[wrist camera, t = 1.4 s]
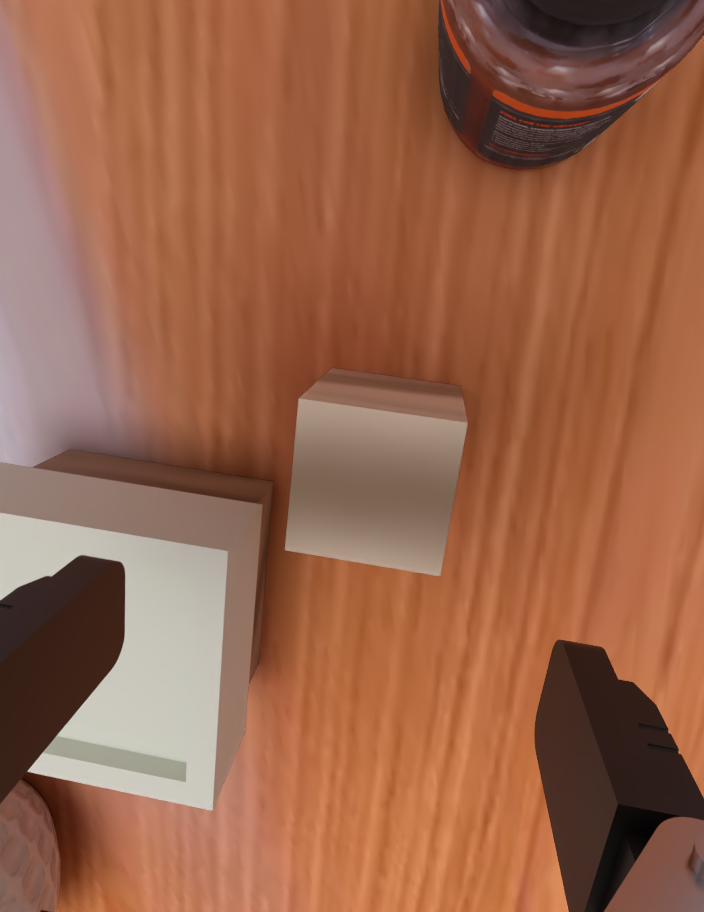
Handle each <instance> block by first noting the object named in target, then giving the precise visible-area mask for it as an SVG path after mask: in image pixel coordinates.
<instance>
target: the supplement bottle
mask: <svg viewBox="0 0 704 912" xmlns="http://www.w3.org/2000/svg"><path fill="white" fill-rule="evenodd" d="M438 31H439V35H438V37H439V81H440V91H441V96H442V100H443V104H444V108H445V112H446V114H447V116H448V119H449V121H450V123H451V125H452V126H453V128H454V130H455V132H456V133H457V135H458V136H459V137H460V139H461V140H462V141H463V142H464V143H465V145H466V146H467V147H469V148H470V149H471V150H472V151H473V152H474V153H476V154H477V155H478V156H479V157H481V158H482V159H484V160H486V161H488V162H490V163H493V164H495V165H499V166H502V167H507V168H512V169H535V168H542V167H547V166H550V165H553V164H555V163H558V162H560V161H563V160H565V159H567V158H568V157H570V156H572V155H574V154H576V153H577V152H579V151H580V150H582V149H583V148H585V147H586V146H587V145H588V144H590V143H591V142H592V141H593V140H594V139H595V138H597V137H598V136H599V135H600V134H601V133H602V132H603V131H604V130H606V129H607V128H608V127H609V126H610V125H611V124H612V123H613V122H615V121H616V120H617V119H618V118H619V117H620V116H621V115H623V113H625V112H626V111H627V110H628V109H629V108H630V107H631V106H632V105H634V104H635V103H636V102H637V101H638V100H639V99H640V98H641V97H643V96H644V95H645V94H646V93H647V92H648V91H649V90H650V89H651V88H652V87H653V86H654V85H655V84H657V83H658V82H659V81H660V80H661V79H662V78H663V77H664V76H665V75H666V74H667V73H668V72H669V71H671V70H672V69H673V68H674V67H675V66H676V65H677V64H678V63H679V62H680V61H681V60H682V59H683V58H684V57H685V56H686V55H687V54H688V53H689V52H690V51H691V50H692V49H693V47H694V46H695V45H696V44H697V42H698V41H699V40H700V39H701V38H702V36H703V35H704V0H439V25H438Z"/></svg>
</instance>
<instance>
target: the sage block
mask: <svg viewBox="0 0 704 912" xmlns="http://www.w3.org/2000/svg"><path fill="white" fill-rule="evenodd" d="M261 518H262V504H256V503H250V502H243V501H237V500H231V499H225V498H219V497H212V496H206V495H200V494H194V493H188V492H181V491H175V490H169V489H163V488H156V487H150V486H144V485H138V484H132V483H125V482H119V481H113V480H107V479H101V478H94V477H88V476H82V475H76V474H69V473H63V472H57V471H51V470H45V469H38V468H32V467H26V466H20V465H14V464H7V463H1V462H0V600H1V599H3V598H4V597H6V596H7V595H8V594H10V593H11V592H12V591H14V590H15V589H16V588H18V587H20V586H22V585H25V584H27V583H30V582H32V581H35V580H37V579H40V578H42V577H45V576H51V577H52V576H53V575H54V574H56V573H57V572H58V571H59V570H61V569H62V568H63V567H65V566H66V565H67V564H68V563H70V562H71V561H72V560H74V559H75V558H76V557H78V556H80V555H86V556H91V557H97V558H103V559H108V560H114V561H119V562H121V563H122V564H123V565H124V568H125V637H124V643H123V647H122V650H121V653H120V656H119V658H118V660H117V662H116V664H115V666H114V667H113V668H112V670H111V671H110V672H109V673H108V675H107V676H106V677H105V678H104V679H103V681H102V682H101V683H100V684H99V685H98V687H97V688H96V689H95V690H94V691H93V693H92V694H91V695H90V696H89V697H88V699H87V700H86V701H85V702H84V704H83V705H82V706H81V707H80V708H79V710H78V711H77V712H76V713H75V714H74V716H73V717H72V718H71V719H70V720H69V722H68V723H67V724H66V725H65V726H64V728H63V729H62V730H61V731H60V732H59V734H58V735H57V736H56V737H55V739H54V740H53V741H52V742H51V743H50V745H49V746H48V747H47V748H46V749H45V751H44V752H43V753H42V754H41V755H40V757H39V758H38V759H37V760H36V761H35V763H34V764H33V765H32V766H31V767H30V769H29V770H28V771H27V772H31V773H35V774H40V775H45V776H50V777H55V778H59V779H64V780H69V781H74V782H78V783H83V784H88V785H93V786H97V787H102V788H107V789H112V790H116V791H121V792H126V793H131V794H135V795H140V796H145V797H150V798H155V799H159V800H164V801H169V802H174V803H178V804H183V805H188V806H193V807H197V808H202V809H207V810H212V811H213V808H214V806H215V804H216V801H217V799H218V796H219V794H220V791H221V789H222V787H223V784H224V782H225V779H226V777H227V775H228V772H229V770H230V767H231V765H232V763H233V760H234V758H235V755H236V753H237V751H238V748H239V746H240V743H241V741H242V739H243V736H244V734H245V728H246V715H247V702H248V689H249V676H250V662H251V649H252V636H253V623H254V610H255V597H256V584H257V571H258V557H259V544H260V531H261Z"/></svg>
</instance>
